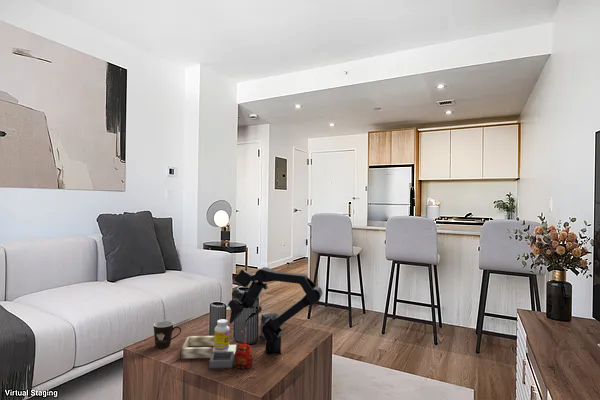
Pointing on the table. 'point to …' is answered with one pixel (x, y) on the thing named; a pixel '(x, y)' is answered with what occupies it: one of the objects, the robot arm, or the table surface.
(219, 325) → the supplement bottle
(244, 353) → the red clay folk toy
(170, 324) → the coffee mug
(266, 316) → the box
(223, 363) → the box
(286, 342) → the table surface
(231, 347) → the pad
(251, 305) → the robot arm
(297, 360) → the table surface
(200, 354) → the wooden tray
